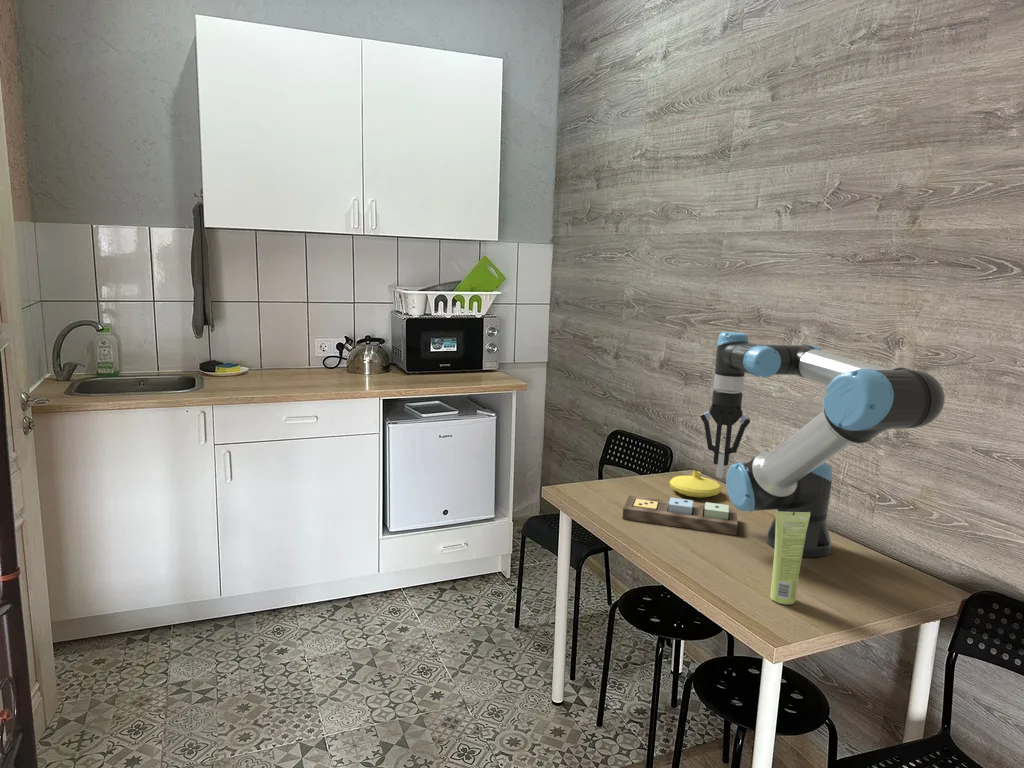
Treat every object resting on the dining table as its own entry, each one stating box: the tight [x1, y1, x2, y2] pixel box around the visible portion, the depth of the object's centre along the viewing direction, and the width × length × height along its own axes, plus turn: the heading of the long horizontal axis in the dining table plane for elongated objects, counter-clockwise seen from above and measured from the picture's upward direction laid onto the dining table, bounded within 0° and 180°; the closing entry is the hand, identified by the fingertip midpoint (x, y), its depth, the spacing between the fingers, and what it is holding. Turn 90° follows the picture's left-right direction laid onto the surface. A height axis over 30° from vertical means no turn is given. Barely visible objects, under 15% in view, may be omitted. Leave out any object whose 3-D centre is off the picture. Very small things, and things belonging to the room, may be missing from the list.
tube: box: [769, 510, 810, 606], centre depth 144 cm, size 6×5×20 cm
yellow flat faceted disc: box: [669, 470, 722, 499], centre depth 214 cm, size 16×16×7 cm
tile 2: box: [668, 497, 694, 515], centre depth 190 cm, size 6×6×3 cm
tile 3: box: [633, 499, 658, 510], centre depth 193 cm, size 6×6×3 cm
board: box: [622, 495, 739, 536], centre depth 190 cm, size 30×12×3 cm, turn 73°
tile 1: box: [704, 501, 730, 520], centre depth 187 cm, size 6×6×3 cm
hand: (719, 476), depth 186 cm, fingers closed
